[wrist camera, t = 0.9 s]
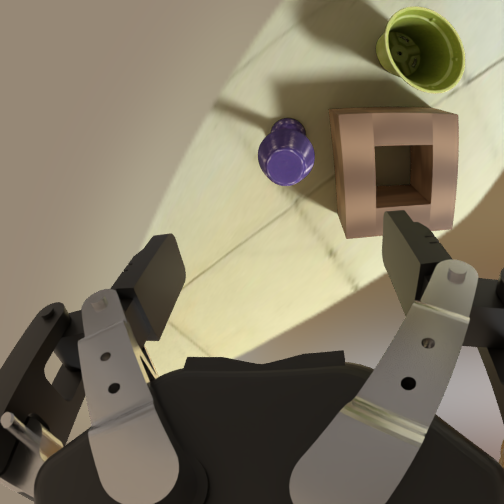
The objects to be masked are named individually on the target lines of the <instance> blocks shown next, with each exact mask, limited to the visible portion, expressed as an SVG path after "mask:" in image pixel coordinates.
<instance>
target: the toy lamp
mask: <svg viewBox="0 0 504 504" xmlns="http://www.w3.org/2000/svg"><path fill="white" fill-rule="evenodd" d="M314 159H315V154H314V149H313V146H312V144H311V142H310V141H309V139H308V138H307V137H306V133H305V129H304V127H303V126H302V124H301V123H300V122H298V121H297V120H295V119H291V118H284V119H281V120H279V121H278V122H276V123H275V124H274V126H273V127H272V130H271V133H270V134H269V135H267V136H266V137H265V138H264V140H263V141H262V143H261V144H260V147H259V150H258V161H259V165H260V167H261V169H262V171H263V172H264V174H265V175H266V176H267V177H268V178H269V179H270V180H271V181H272V182H274V183H275V184H278V185H281V186H290V185H294V184H296V183H298V182H299V181H301V180H302V179H303V178H305V177H306V176H307V175H308V174H309V172H310V171H311V169H312V167H313V165H314Z"/></svg>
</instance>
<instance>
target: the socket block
mask: <svg viewBox="0 0 504 504" xmlns="http://www.w3.org/2000/svg"><path fill="white" fill-rule="evenodd" d="M329 117H330V126H331V135H332V145H333V155H334V167H335V179H336V194H337V211H338V216H339V219H340V222H341V224H342V227H343V230H344V233H345V236H346V239H351V238H362V237H372V236H383V216H384V212H385V211H397V210H405V211H406V213H407V214H408V215H409V217H410V218H411V219H412V220H413V222H419V223H421V224H423V225H424V226H426V227H428V228H429V229H430V231H437V230H448V229H452V226H453V218H454V209H455V200H456V188H457V174H458V146H459V126H458V115H457V114H453V113H450V112H446V111H442V110H438V109H435V108H424V107H363V108H341V109H329ZM394 145H410V184H407V185H390V186H376V173H375V149H374V146H394Z"/></svg>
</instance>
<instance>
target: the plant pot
mask: <svg viewBox="0 0 504 504" xmlns="http://www.w3.org/2000/svg"><path fill="white" fill-rule="evenodd" d="M400 36H402V37H404V38H406V39H407V40H408V41H409V42H407V41H405V40H404V39H402V38H400ZM398 52H401V55H398ZM376 54H377V57H378V59H379V62H380V64H381V65H382V66H383V68H384V69H385V70H387V71H388V72H389V73H391V74H393V75H396V76H398V77H401V78H402V79H403V80H404V81H405V82H407V83H408V84H409V85H411V86H412V87H414V88H416V89H418V90H420V91H423V92H427V93H433V94H436V93H443V92H446V91H449V90H451V89H452V88H453V87H455V86H456V85H457V84H458V82H459V81H460V79H461V77H462V75H463V72H464V68H465V52H464V48H463V44H462V41H461V39H460V37H459V35H458V33H457V32H456V30H455V29H454V27H453V26H452V25H451V24H450V23H449V22H448V21H447V20H446V19H445V18H444V17H443V16H441V15H440V14H438V13H437V12H435V11H433V10H430V9H427V8H424V7H416V6H414V7H407V8H403V9H401V10H399V11H398V12H396V13H395V14H394V15H393V16H392V17H391V18H390V20H389V21H388V23H387V26H386V29H385V33H384V34H383V35H382V36H381V37H380V38H379V39H378V41H377V44H376ZM415 58H416V60H417V61H416V64H415V66H414V67H412V64H413V62H414V59H415Z"/></svg>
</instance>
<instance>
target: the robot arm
mask: <svg viewBox="0 0 504 504" xmlns="http://www.w3.org/2000/svg"><path fill="white" fill-rule="evenodd" d="M382 256H383V262H384V266H385V268H386V270H387V272H388V275H389V277H390V279H391V282H392V284H393V286H394V289H395V291H396V293H397V296H398V298H399V301H400V303H401V306H402V308H403V311H404V313H405V316H406V318H405V319H404V321H403V323H402V324H401V326H400V328H399V330H398V331H397V333H396V335H395V337H394V339H393V340H392V342H391V343H390V346H389V347H388V348H387V350H386V352H385V353H384V355H383V356H382V358H381V360H380V361H379V363H378V364H377V366H376V368H375V369H372V368H370V367H366V366H363V365H360V364H355V363H349V362H345V358H344V351H332V352H321V353H309V354H302V355H298V356H294V357H290V358H287V359H283V360H279V361H275V362H271V363H266V364H255V363H249V362H244V361H239V360H234V359H229V358H224V357H187V359H186V363H185V366H184V368H183V369H178V370H175V371H172V372H169V373H166V374H164V375H162V376H160V377H159V375H158V373H157V371H156V369H155V367H154V365H153V362H152V360H151V358H150V356H149V353H148V351H147V349H146V347H145V346H144V344H145V342H146V341H159V340H160V337H161V335H162V333H163V330H164V328H165V326H166V323H167V321H168V319H169V317H170V314H171V312H172V310H173V307H174V305H175V303H176V301H177V298H178V296H179V294H180V292H181V289H182V287H183V285H184V283H185V278H186V272H185V267H184V264H183V261H182V258H181V255H180V252H179V248H178V245H177V242H176V239H175V237H174V235H173V234H163V235H156V236H153V237H152V238H151V239H150V241H149V242H148V243H147V245H146V246H145V248H144V249H143V250H141V251H140V252H139V253H138V254H136V255H135V256H134V257H133V258H132V260H131V261H130V262H129V264H128V265H127V266H126V268H125V269H124V272H122V273H121V275H120V276H119V277H118V279H117V280H116V282H115V283H114V284H113V286H112V287H111V289H104V290H100V291H98V292H96V293H94V294H92V295H91V296H90V297H88V298H87V299H86V300H85V302H84V303H83V305H82V309H81V310H79V311H75V312H72V313H68V312H67V310H66V308H65V306H64V305H63V304H62V303H60V302H58V303H52V304H50V305H48V306H46V307H45V308H43V309H42V310H41V311H40V312H39V313H38V314H37V315H36V317H35V318H34V320H33V321H32V322H31V324H30V325H29V327H28V328H27V329H26V331H25V333H24V334H23V336H22V337H21V338H20V340H19V341H18V343H17V344H16V346H15V347H14V349H13V350H12V352H11V353H10V355H9V357H8V358H7V360H6V361H5V363H4V364H3V366H2V368H1V369H0V483H1V484H3V485H4V486H6V487H7V488H9V489H11V490H12V491H14V492H17V493H19V494H21V495H23V496H25V497H26V498H28V499H30V500H32V501H34V503H35V504H504V439H503V442H502V445H501V451H500V454H501V457H500V459H499V463H498V462H497V461H496V460H495V459H494V458H493V457H491V456H489V455H488V454H487V453H486V452H484V451H483V450H482V449H481V448H479V447H478V446H476V445H475V444H474V443H473V442H471V441H470V440H468V439H467V438H466V437H465V436H463V435H462V434H460V433H459V432H458V431H457V430H455V429H454V428H453V427H451V426H450V425H448V424H447V423H446V422H445V421H443V420H442V419H441V418H440V417H438V416H437V415H436V411H437V409H438V407H439V405H440V403H441V400H442V398H443V396H444V393H445V390H446V388H447V386H448V383H449V380H450V378H451V376H452V373H453V370H454V367H455V364H456V362H457V359H458V356H459V353H460V350H461V347H462V346H472V347H477V348H478V350H479V353H480V355H481V358H482V360H483V363H484V366H485V368H486V371H487V374H488V376H489V379H490V382H491V385H492V388H493V391H494V394H495V397H496V400H497V403H498V406H499V410H500V413H501V416H502V420H503V424H504V268H503V269H502V271H501V273H500V277H499V280H492V279H482V278H478V274H477V272H476V270H475V269H474V268H473V267H472V266H470V265H469V264H467V263H465V262H462V261H459V260H453V259H452V258H451V257H450V255H449V254H448V253H447V252H446V250H445V249H444V247H443V246H442V245H441V243H439V241H438V239H437V238H436V237H434V234H433V233H432V232H431V231H430V229H429V228H428V227H426V226H424V225H423V224H421V223H419V222H413V220H412V219H411V218H410V217H409V215H408V214H407V213H406V211H405V210H397V211H385V212H384V216H383V242H382ZM53 351H54V353H55V354H56V355H57V357H58V358H59V359H60V361H61V362H62V363H63V364H62V366H61V368H60V369H59V371H58V373H57V375H56V377H55V379H54V381H53V383H52V385H51V384H50V383H49V381H48V380H47V379H46V377H45V374H44V367H45V364H46V363H47V361H48V359H49V357H50V356H51V354H52V352H53ZM85 395H86V400H87V405H88V409H89V414H90V419H91V424H92V426H91V427H90V428H89V429H87V430H86V431H85V432H83V433H82V434H81V435H79V436H78V437H76V438H75V439H74V440H72V441H71V442H70V443H68V444H67V445H66V442H67V439H68V437H69V434H70V432H71V429H72V427H73V424H74V422H75V419H76V417H77V414H78V412H79V409H80V407H81V404H82V402H83V400H84V397H85Z"/></svg>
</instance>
